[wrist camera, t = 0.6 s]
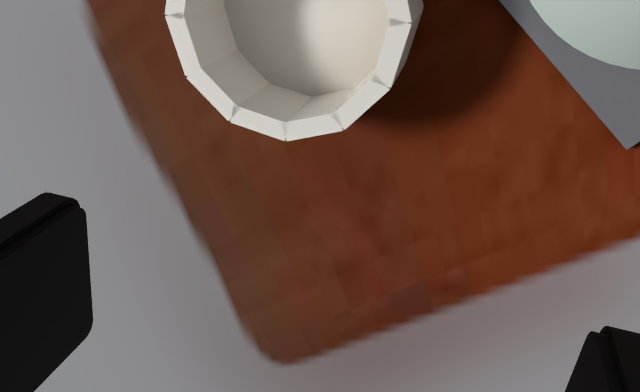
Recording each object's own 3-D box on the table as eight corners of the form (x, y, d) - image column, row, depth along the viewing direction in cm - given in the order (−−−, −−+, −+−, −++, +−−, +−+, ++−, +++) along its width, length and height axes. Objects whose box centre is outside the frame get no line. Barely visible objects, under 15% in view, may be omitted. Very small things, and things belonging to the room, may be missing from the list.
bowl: (312, -169, 30) (276, -189, 25) (466, 8, 32) (462, 24, 27) (177, 0, 36) (124, 13, 31) (315, 145, 37) (286, 181, 32)
